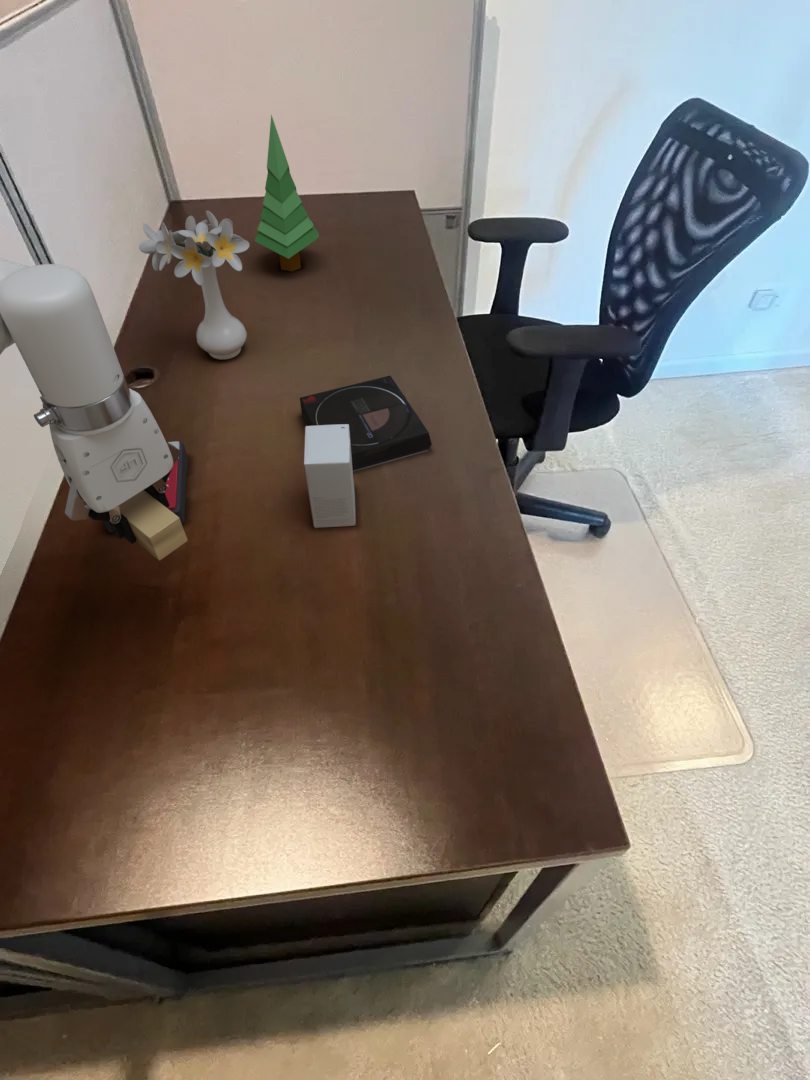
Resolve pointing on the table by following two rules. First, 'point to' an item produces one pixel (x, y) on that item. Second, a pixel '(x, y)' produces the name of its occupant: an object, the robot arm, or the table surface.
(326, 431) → the small box
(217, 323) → the flower vase
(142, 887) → the table surface
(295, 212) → the decorative tree
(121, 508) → the wood bar
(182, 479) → the calculator
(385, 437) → the portable cd player
